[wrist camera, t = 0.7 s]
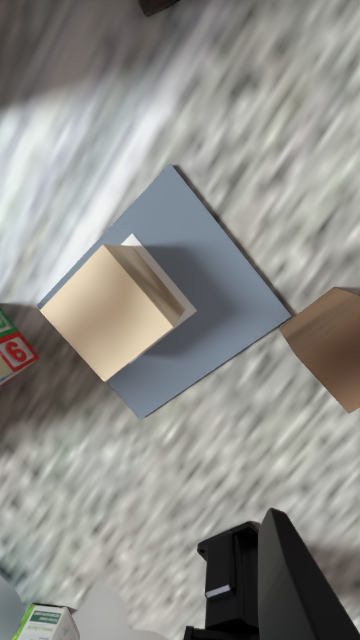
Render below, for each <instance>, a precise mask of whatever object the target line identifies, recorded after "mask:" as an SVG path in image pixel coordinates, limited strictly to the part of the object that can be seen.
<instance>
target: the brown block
mask: <svg viewBox="0 0 360 640" xmlns="http://www.w3.org/2000/svg"><path fill="white" fill-rule="evenodd" d="M279 330H280V332H281V333H282V335H283V336H284V338H285V339H286V341H287V342H288V344H289V345H290V347H291V349H292V350H293V352H294V353H295V355H296V356H297V357H298V358H299V359H300V360H301V361H302V363H303V364H304V365H305V366H306V367H307V368H308V369H309V370H310V371H311V372H312V374H313V375H314V376H315V377H316V378H317V379H318V380H319V381H320V382H321V383H322V385H323V386H324V387H325V388H326V389H327V390H328V391H329V392H330V393H331V394H332V396H333V397H334V398H335V399H336V400H337V401H338V402H339V403H340V404H341V405H342V407H343V408H344V409H345V410H346V411H347V412H348V413H351V412H353V411H355V410H356V409H358V408H360V296H359V295H356V294H353V293H350V292H347V291H344V290H341V289H338V288H336V287H333V288H332V289H331V290H329V291H328V292H327V293H325V294H324V295H323V296H321V297H320V298H319V299H317V300H316V301H315V302H314V303H312V304H311V305H310V306H308V307H307V308H306V309H304V310H303V311H302V312H300V313H299V314H298V315H296V316H295V317H294V318H292V319H291V320H290V321H288V322H287V323H286V324H284V325H283V326H282V327H280V328H279Z"/></svg>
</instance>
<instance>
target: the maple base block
mask: <svg viewBox="0 0 360 640" xmlns="http://www.w3.org/2000/svg"><path fill="white" fill-rule="evenodd" d="M184 311H185V308H184V307H183V306H182V305H181V304H180V302H179V301H178V300H177V299H176V298H175V296H174V295H173V294H172V293H171V292H170V290H169V289H168V288H167V287H166V286H165V285H164V283H163V282H162V281H161V280H160V279H159V277H158V276H157V275H156V274H155V273H154V271H153V270H152V269H151V268H150V267H149V266H148V264H147V263H146V262H145V261H144V260H143V258H142V257H141V256H140V255H139V254H138V252H137V251H136V250H135V249H134V248H133V246H127V245H106V244H103V245H102V246H101V247H100V248H99V249H98V250H97V251H96V252H95V253H94V254H93V255H92V256H91V257H90V258H89V259H88V260H87V261H86V262H85V264H84V265H83V266H82V267H81V268H80V269H79V270H78V271H77V272H76V273H75V274H74V275H73V276H72V277H71V278H70V279H69V280H68V281H67V282H66V283H65V284H64V286H63V287H62V288H61V289H60V290H59V291H58V292H57V293H56V294H55V295H54V296H53V297H52V298H51V299H50V300H49V301H48V302H47V303H46V304H45V305H44V306H43V308H42V309H41V310H40V312H41V313H42V314H43V315H44V316H45V317H46V318H47V319H48V321H49V322H50V323H51V324H52V325H53V326H54V327H55V328H56V329H57V330H58V332H59V333H60V334H61V335H62V336H63V337H64V338H65V339H66V340H67V341H68V343H69V344H70V345H71V346H72V347H73V348H74V349H75V350H76V351H77V352H78V354H79V355H80V356H81V357H82V358H83V359H84V360H85V361H86V362H87V363H88V365H89V366H90V367H91V368H92V369H93V370H94V371H95V372H96V373H97V374H98V376H99V377H100V378H101V379H102V380H103V381H104V382H105V381H106V380H108V379H109V378H110V377H111V376H113V375H114V374H115V373H116V372H118V371H119V370H120V369H121V368H123V367H124V366H125V365H126V364H128V363H129V362H130V361H131V360H133V359H134V358H135V357H136V356H138V355H139V354H140V353H142V352H143V351H144V350H145V349H147V348H148V347H149V346H150V345H152V344H153V343H154V342H155V341H157V340H158V339H159V338H160V337H162V336H163V335H164V334H165V333H167V332H168V331H169V330H170V329H172V328H173V327H174V325H175V324H176V323H177V321H178V320H179V318H180V317H181V315H182V314H183V313H184Z"/></svg>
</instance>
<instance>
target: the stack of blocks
mask: <svg viewBox="0 0 360 640" xmlns="http://www.w3.org/2000/svg"><path fill="white" fill-rule="evenodd" d="M38 359H39V357H38V356H37V355H36V353H35V352H34V351H33V349H32V348H31V347H30V346H29V344H28V343H27V342H26V341H25V339H24V338H23V337H22V336H21V334H20V333H19V332H18V331H17V330H16V329H15V327H14V326H13V325H12V323H11V322H10V321H9V320H8V318H7V317H6V316H5V314H4V313H3V312H2V311H1V309H0V386H1V385H2V384H4V383H5V382H7V381H8V380H9V379H11V378H12V377H14V376H15V375H17V374H18V373H20V372H21V371H23V370H24V369H26V368H27V367H28V366H30V365H31V364H33V363H34V362H36V361H37V360H38Z"/></svg>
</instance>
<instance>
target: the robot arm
mask: <svg viewBox="0 0 360 640" xmlns="http://www.w3.org/2000/svg"><path fill="white" fill-rule="evenodd" d="M197 551H198V553H199V554H200V555H201V556H202V557H203V558H204V559H205V560H206V561H207V567H206V582H205V597H206V598H207V601H206V618H205V629H199V628H194V627H193V626H186V630H185V635H184V639H183V640H360V633H359V632H358V630H357V628H356V627H355V625H354V624H353V622H352V620H351V619H350V617H349V615H348V614H347V612H346V610H345V609H344V607H343V606H342V604H341V602H340V601H339V599H338V597H337V596H336V594H335V593H334V591H333V589H332V588H331V586H330V584H329V583H328V581H327V579H326V578H325V576H324V575H323V573H322V571H321V570H320V568H319V566H318V565H317V563H316V561H315V560H314V558H313V557H312V555H311V553H310V552H309V550H308V548H307V547H306V545H305V544H304V542H303V540H302V539H301V537H300V535H299V534H298V532H297V530H296V529H295V527H294V526H293V524H292V522H291V521H290V519H289V517H288V516H287V515H286V513H284V512H283V511H280V510H277V509H275V508H270V509H269V510H268V511H267V513H266V515H265V517H264V519H263V521H262V524H261V526H260V528H259V531H258V530H257V528H256V527H255V526H254V525H253V524H251V523H245V524H243V525H240V526H238V527H236V528H234V529H231V530H229V531H227V532H224V533H222V534H220V535H217V536H215V537H213V538H210V539H208V540H206V541H203V542H201V543H199V544H198V548H197Z"/></svg>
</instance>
